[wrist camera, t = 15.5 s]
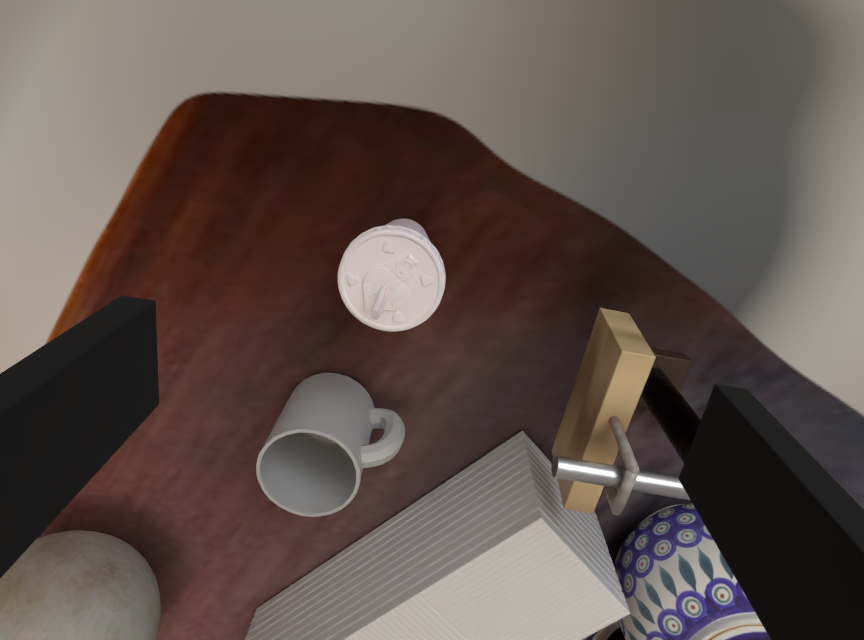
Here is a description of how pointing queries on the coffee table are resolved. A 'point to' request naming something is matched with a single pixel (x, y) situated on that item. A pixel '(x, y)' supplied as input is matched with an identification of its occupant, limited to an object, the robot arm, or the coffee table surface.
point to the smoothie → (392, 276)
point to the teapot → (679, 584)
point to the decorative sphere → (79, 591)
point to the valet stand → (670, 416)
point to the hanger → (604, 408)
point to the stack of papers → (463, 566)
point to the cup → (325, 445)
